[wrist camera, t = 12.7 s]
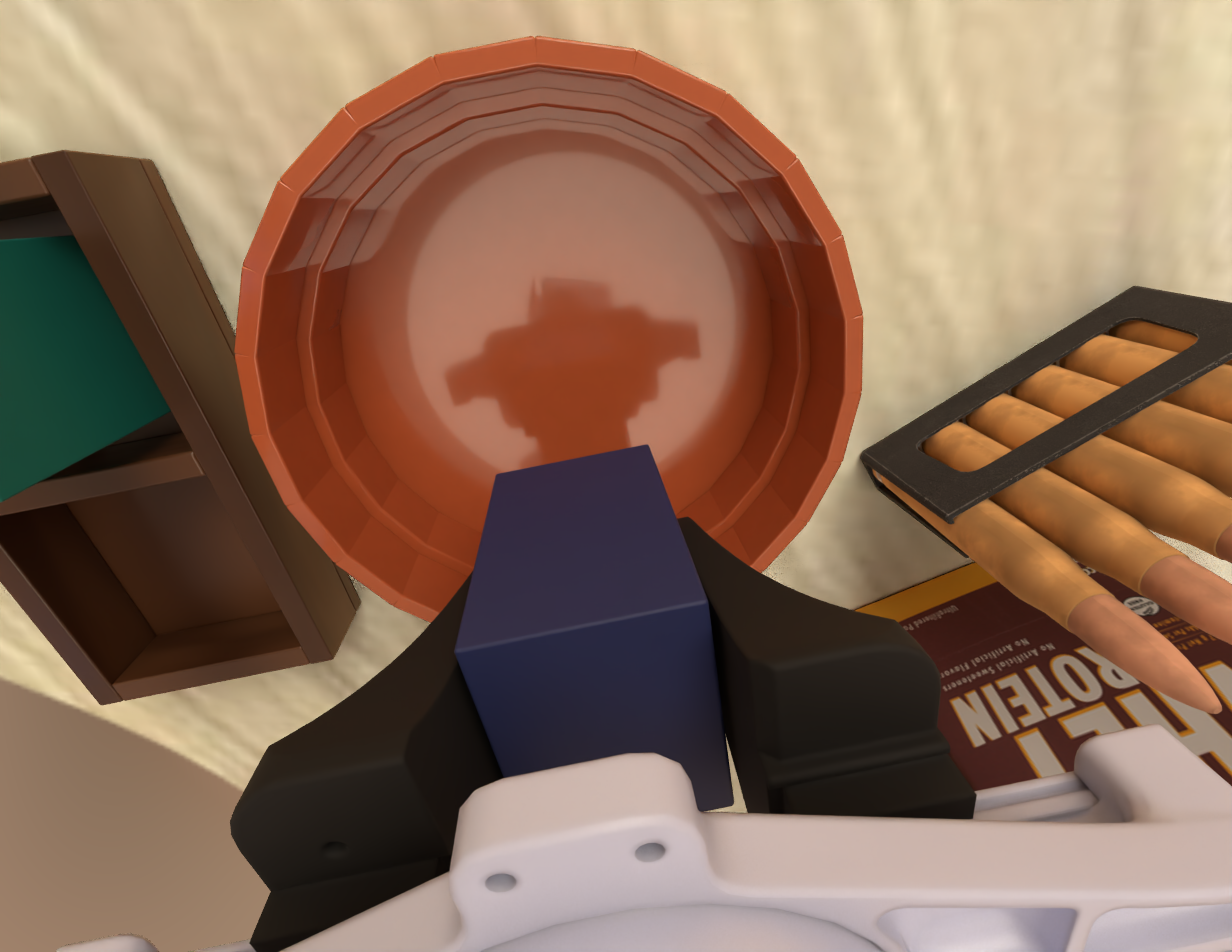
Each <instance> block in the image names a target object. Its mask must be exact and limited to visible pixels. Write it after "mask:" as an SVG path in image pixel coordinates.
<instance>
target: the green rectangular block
mask: <svg viewBox="0 0 1232 952" xmlns="http://www.w3.org/2000/svg"><path fill="white" fill-rule="evenodd" d="M169 412H171V410H170V408H169V406H168V405H167V403H166V401H165V399H164V397H163V396H162V394H161V392H160V390H159V388H158V386H157V385H156V383H155V381H154V379H153V377H152V376H151V374H150V372H149V370H148V368H147V367H146V365H145V363H144V361H143V359H142V358H141V356H140V354H139V352H138V350H137V349H136V347H135V345H134V343H133V341H132V340H131V338H130V336H129V334H128V332H127V330H126V329H125V327H124V325H123V323H122V321H121V320H120V318H119V316H118V314H117V312H116V311H115V309H114V307H113V305H112V303H111V302H110V300H109V298H108V296H107V294H106V293H105V291H104V289H103V287H102V285H101V284H100V282H99V280H98V278H97V276H96V274H95V273H94V271H93V269H92V267H91V265H90V264H89V262H88V260H87V258H86V256H85V255H84V253H83V251H82V249H81V247H80V246H79V244H78V242H77V240H76V238H75V237H74V235H68V236H53V237H37V238H21V239H6V240H0V502H3V501H5V500H7V499H9V498H11V497H13V496H15V495H16V494H18V493H20V492H22V491H24V490H26V489H28V488H30V487H31V486H33V485H35V484H37V483H39V482H41V481H43V480H44V479H46V478H48V477H50V476H52V475H54V474H56V473H58V472H59V471H61V470H63V469H65V468H67V467H69V466H71V465H72V464H74V463H76V462H78V461H80V460H82V459H84V458H85V457H87V456H89V455H91V454H93V453H95V452H97V451H99V450H100V449H102V448H104V447H106V446H108V445H110V444H112V443H113V442H115V441H117V440H119V439H121V438H123V437H125V436H127V435H128V434H130V433H132V432H134V431H136V430H138V429H140V428H141V427H143V426H145V425H147V424H149V423H151V422H153V421H155V420H156V419H158V418H160V417H162V416H164V415H166V414H168V413H169Z"/></svg>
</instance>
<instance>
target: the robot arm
mask: <svg viewBox="0 0 1232 952" xmlns="http://www.w3.org/2000/svg"><path fill="white" fill-rule="evenodd" d="M677 521H678V523H679V526H680V528H681V531H682V534H683V536H684V539H685V542H686V544H687V547H688V549H689V552H690V555H691V557H692V560H693V563H694V565H695V568H696V571H697V573H698V576H699V578H700V581H701V584H702V586H703V589H704V592H705V594H706V597H707V600H708V604H709V612H710V619H711V627H712V635H713V643H714V650H715V658H716V666H717V674H718V681H719V689H720V697H721V704H722V712H723V720H724V728H725V734H726V737H727V741H728V744H729V748H730V751H731V755H732V758H733V762H734V765H735V769H736V772H737V776H738V779H739V783H740V787H741V790H742V794H743V798H744V801H745V805H746V809H747V812H748V813H728V812H700V811H699V810H698V809H697V805H696V800H695V796H694V792H693V787H692V783H691V780H690V778H689V777H688V775H687V774H686V772H685V770H684V769H683V767H682V766H681V764H680V763H678V762H675V761H673V760H670V759H668V758H666V757H663V756H661V755H659V754H656V753H625V754H620V755H615V756H610V757H606V758H601V759H596V760H591V761H586V762H581V763H576V764H571V765H566V766H561V767H556V768H551V769H546V770H541V771H536V772H531V773H527V774H522V775H517V776H512V777H507V778H504V777H503V775H502V772H501V770H500V767H499V765H498V762H497V759H496V757H495V754H494V752H493V749H492V747H491V744H490V742H489V739H488V737H487V734H486V732H485V729H484V726H483V724H482V721H481V719H480V716H479V714H478V711H477V709H476V706H475V704H474V701H473V699H472V696H471V693H470V691H469V688H468V686H467V683H466V681H465V678H464V676H463V673H462V671H461V668H460V666H459V663H458V661H457V658H456V655H455V653H454V650H455V645H456V641H457V637H458V633H459V629H460V624H461V620H462V616H463V612H464V607H465V603H466V599H467V595H468V590H469V586H470V582H471V578H472V574H473V571H472V572H471V574H470V575H469V576H468V578H467V579H466V580H465V582H464V583H463V585H462V586H461V587H460V588H459V590H458V591H457V592H456V594H455V595H454V596H453V597H452V599H451V600H450V601H449V603H448V604H447V605H446V606H445V607H444V609H443V610H442V611H441V612H440V613H439V614H438V616H437V617H436V618H435V619H434V620H433V621H432V622H431V624H430V625H429V626H428V627H427V628H426V629H425V630H424V632H423V633H422V634H421V635H420V636H419V637H418V638H417V639H416V640H415V641H414V642H413V643H412V644H411V645H410V646H409V647H408V648H407V649H406V650H405V651H404V652H403V653H401V654H400V655H399V656H398V657H397V658H396V659H395V660H394V661H393V662H392V663H391V664H389V665H388V666H387V667H386V668H384V669H383V670H382V671H381V672H380V673H378V674H377V675H376V676H375V677H373V678H372V679H371V680H370V681H369V682H367V683H366V684H365V685H364V686H362V687H361V688H360V689H359V690H357V691H356V692H354V693H353V694H352V695H350V696H349V697H348V698H346V699H345V700H343V701H342V702H340V703H339V704H338V705H336V706H335V707H333V708H332V709H330V710H329V711H327V712H326V713H324V714H323V715H321V716H319V717H318V718H316V719H315V720H313V721H312V722H310V723H308V724H306V725H305V726H303V727H301V728H300V729H298V730H296V731H295V732H293V733H291V734H289V735H288V736H286V737H284V738H283V739H281V740H279V741H277V742H276V743H274V744H272V745H270V746H269V747H268V748H267V750H266V752H265V753H264V755H263V757H262V759H261V761H260V763H259V765H258V766H257V768H256V770H255V772H254V774H253V776H252V777H251V779H250V781H249V783H248V785H247V787H246V789H245V790H244V792H243V794H242V796H241V798H240V800H239V802H238V803H237V806H236V807H235V810H234V812H233V815H232V818H231V820H230V826H231V835H232V837H233V839H234V841H235V843H236V845H237V847H238V848H239V850H240V852H241V853H242V854H243V856H244V857H245V858H246V859H247V861H248V862H249V863H250V865H251V866H252V867H253V869H254V870H255V871H256V872H257V874H258V875H259V876H260V878H261V879H262V880H263V882H264V883H265V884H266V885H267V887H268V888H269V889H270V891H271V893H270V895H269V897H268V900H267V902H266V904H265V907H264V909H263V912H262V914H261V916H260V918H259V921H258V923H257V926H256V928H255V930H254V933H253V935H252V938H251V939H249V940H244V941H239V942H234V943H229V944H224V945H219V946H214V947H209V948H205V949H200V950H195V951H190V952H1232V786H1231V785H1230V784H1229V783H1227V782H1226V781H1225V780H1224V779H1223V778H1222V777H1220V776H1219V775H1218V774H1217V773H1216V772H1215V771H1213V770H1212V769H1211V768H1210V767H1209V766H1208V765H1206V764H1205V763H1204V762H1203V761H1202V760H1201V759H1199V758H1198V757H1197V756H1196V755H1195V754H1194V753H1192V752H1191V751H1190V750H1189V749H1188V748H1187V747H1185V746H1184V745H1183V744H1182V743H1181V742H1180V741H1178V740H1177V739H1176V738H1175V737H1174V736H1173V735H1172V734H1170V733H1169V732H1168V731H1167V730H1166V729H1165V728H1163V727H1162V726H1161V725H1159V724H1149V725H1144V726H1140V727H1135V728H1130V729H1125V730H1120V731H1115V732H1110V733H1105V734H1100V735H1097V736H1094V737H1092V738H1089V739H1088V740H1086V741H1085V742H1084V743H1082V744H1081V745H1080V747H1079V749H1078V750H1077V753H1076V756H1075V762H1074V771H1072V772H1067V773H1062V774H1057V775H1052V776H1047V777H1042V778H1038V779H1033V780H1028V781H1023V782H1018V783H1013V784H1008V785H1003V786H998V787H993V788H989V789H984V790H979V791H974V790H973V789H972V787H971V786H970V784H969V783H968V782H967V780H966V779H965V777H964V776H963V775H962V773H961V772H960V770H959V769H958V768H957V766H956V765H955V763H954V762H953V761H952V759H951V758H950V756H949V755H948V753H950V749H951V748H950V745H949V742H948V741H947V740H946V738H945V737H944V735H943V734H942V733H941V731H940V730H939V729H938V727H937V724H938V715H939V706H940V696H941V676H940V672H939V670H938V668H937V666H936V664H935V662H934V661H933V660H932V659H931V657H930V656H929V655H928V654H927V652H926V651H925V650H924V649H923V648H922V646H921V645H920V644H919V643H918V642H917V641H916V640H915V639H914V638H913V637H912V636H911V635H910V634H909V633H908V632H907V631H906V630H905V629H904V628H903V627H902V626H901V625H900V624H899V623H898V622H897V621H896V620H894V619H889V618H884V617H880V616H875V615H871V614H866V613H861V612H857V611H853V610H849V609H846V608H843V607H839V606H836V605H833V604H829V603H827V602H824V601H821V600H818V599H815V598H812V597H810V596H808V595H805V594H803V593H800V592H798V591H795V590H793V589H791V588H789V587H786V586H784V585H782V584H780V583H778V582H776V581H774V580H773V579H771V578H769V577H767V576H765V575H763V574H761V573H760V572H758V571H756V570H755V569H753V568H752V567H750V566H749V565H747V564H746V563H744V562H743V561H741V560H740V559H739V558H737V557H736V556H734V555H733V554H732V553H730V552H729V551H728V550H727V549H725V548H724V547H723V546H721V545H720V544H719V543H718V542H717V541H715V540H714V539H713V538H712V537H711V536H710V535H708V534H707V533H706V532H705V531H704V530H703V529H702V528H701V527H700V526H699V525H698V524H697V523H696V522H695V521H694V520H692V519H691V518H689V517H683V518H678V519H677ZM56 952H159V951H158V950H157V948H156V947H155V945H154V944H153V943H152V942H151V941H150V940H148V939H146V938H145V937H143V936H140V935H136V934H118V935H113V936H108V937H103V938H99V939H94V940H89V941H84V942H79V943H74V944H69V945H65V946H63V947H61V948H59V949H57V951H56Z"/></svg>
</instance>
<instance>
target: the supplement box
mask: <svg viewBox="0 0 1232 952" xmlns="http://www.w3.org/2000/svg"><path fill="white" fill-rule="evenodd" d="M1071 558H1072V557H1071ZM1072 559H1073V558H1072ZM1073 560H1074V561H1075V562H1076V563H1077V564H1078V565H1079V566H1080V567H1081V568H1082V569H1083V570H1084V572H1085V573H1086V574H1087V575H1088V576H1089V577H1091V578H1092V579H1093V580H1095V581H1096V582H1097V583H1098V584H1100V585H1101V586H1102V587H1104V588H1105V589H1106V590H1108V591H1109V592H1110V593H1111V594H1113V595H1114V596H1115V598H1116V599H1117V600H1118V601H1120V602H1121V603H1123V604H1124V605H1125V606H1127V607H1128V608H1129V609H1131V610H1132V611H1134V612H1135V613H1136V614H1138V615H1139V616H1140V617H1142V618H1143V619H1144V620H1145V621H1147V622H1148V623H1149V624H1150V625H1151V626H1153V627H1154V628H1155V629H1156V630H1157V631H1158V632H1159V633H1161V634H1162V635H1163V636H1164V637H1165V638H1166V639H1167V640H1169V641H1170V642H1171V643H1172V644H1173V645H1174V646H1175V647H1176V648H1177V649H1178V650H1179V651H1180V652H1181V653H1182V654H1183V655H1184V656H1185V657H1186V658H1187V659H1188V660H1189V662H1190V663H1191V664H1192V665H1193V666H1194V667H1195V668H1196V670H1197V671H1198V672H1199V673H1200V674H1201V675H1202V676H1203V678H1204V679H1205V680H1206V682H1207V683H1208V684H1209V686H1210V687H1211V688H1212V690H1213V691H1214V693H1215V695H1216V696H1217V698H1218V700H1219V702H1220V704H1221V706H1222V711H1221V712H1220V713H1218V714H1211V713H1208V712H1204V711H1202V710H1199V709H1196V708H1193V707H1191V706H1188V705H1186V704H1184V703H1181V702H1179V701H1177V700H1174V699H1172V698H1171V697H1169V696H1167V695H1165V694H1163V693H1161V692H1159V691H1157V690H1155V689H1153V688H1151V687H1150V686H1148V685H1146V684H1145V683H1143V682H1141V681H1139V680H1138V679H1136V678H1134V677H1133V676H1131V675H1129V674H1128V673H1126V672H1125V671H1123V670H1122V669H1120V668H1119V667H1118V666H1116V665H1115V664H1113V663H1112V662H1110V661H1109V660H1107V659H1106V658H1104V657H1103V656H1102V655H1100V654H1099V653H1098V652H1096V651H1095V650H1094V649H1092V648H1091V647H1090V646H1089V645H1087V644H1086V643H1085V642H1084V641H1083V640H1081V639H1080V638H1079V637H1078V636H1076V635H1075V634H1074V633H1071V632H1069V631H1068V630H1067V629H1065V628H1064V627H1063V626H1061V625H1060V624H1059V623H1057V622H1056V621H1055V620H1054V619H1052V618H1051V617H1050V616H1048V615H1047V614H1046V613H1044V612H1042V611H1041V610H1039V609H1037V608H1035V607H1033V606H1032V605H1030V604H1028V603H1026V602H1024V601H1023V600H1021V599H1019V598H1018V597H1017V596H1015V595H1014V594H1013V593H1011V592H1010V591H1009V590H1008V589H1007V588H1006V587H1004V586H1003V585H1002V584H1001V583H1000V582H998V581H997V580H996V579H995V578H994V577H993V576H991V575H990V574H989V573H988V572H987V571H985V570H984V569H983V568H982V567H981V566H980V565H978V564H977V563H976V562H975V563H972V564H970V565H967V566H965V567H962V568H960V569H957V570H955V571H952V572H950V573H947V574H945V575H942V576H940V577H937V578H935V579H932V580H930V581H927V582H925V583H922V584H920V585H917V586H915V587H912V588H910V589H907V590H905V591H902V592H900V593H897V594H895V595H892V596H890V597H888V598H885V599H883V600H880V601H877V602H875V603H872V604H870V605H867V606H865V607H862V608H860V609H857V610H855V611H857V612H861V613H866V614H871V615H875V616H880V617H884V618H889V619H894V620H896V621H897V622H898V623H899V624H900V625H901V626H902V627H903V628H904V629H905V630H906V631H907V632H908V633H909V634H910V635H911V636H912V637H913V638H914V639H915V640H916V641H917V642H918V643H919V644H920V645H921V646H922V648H923V649H924V650H925V651H926V652H927V654H928V655H929V656H930V657H931V659H932V660H933V661H934V662H935V664H936V666H937V668H938V670H939V672H940V676H941V696H940V706H939V715H938V724H937V727H938V729H939V730H940V731H941V733H942V734H943V735H944V737H945V738H946V740H947V741H948V742H949V745H950V748H951V749H950V753H948V755H949V756H950V758H951V759H952V761H953V762H954V763H955V765H956V766H957V768H958V769H959V770H960V772H961V773H962V775H963V776H964V777H965V779H966V780H967V782H968V783H969V784H970V786H971V787H972V789H973V790H974V791H979V790H984V789H989V788H993V787H998V786H1003V785H1008V784H1013V783H1018V782H1023V781H1028V780H1033V779H1038V778H1042V777H1047V776H1052V775H1057V774H1062V773H1067V772H1072V771H1074V762H1075V756H1076V753H1077V750H1078V749H1079V747H1080V745H1081V744H1082V743H1084V742H1085V741H1086V740H1088V739H1089V738H1092V737H1094V736H1097V735H1100V734H1105V733H1110V732H1115V731H1120V730H1125V729H1130V728H1135V727H1140V726H1144V725H1149V724H1159V725H1161V726H1162V727H1163V728H1165V729H1166V730H1167V731H1168V732H1169V733H1170V734H1172V735H1173V736H1174V737H1175V738H1176V739H1177V740H1178V741H1180V742H1181V743H1182V744H1183V745H1184V746H1185V747H1187V748H1188V749H1189V750H1190V751H1191V752H1192V753H1194V754H1195V755H1196V756H1197V757H1198V758H1199V759H1201V760H1202V761H1203V762H1204V763H1205V764H1206V765H1208V766H1209V767H1210V768H1211V769H1212V770H1213V771H1215V772H1216V773H1217V774H1218V775H1219V776H1220V777H1222V778H1223V779H1224V780H1225V781H1226V782H1227V783H1229V784H1230V785H1231V786H1232V645H1231V644H1229V643H1227V642H1225V641H1223V640H1221V639H1218V638H1216V637H1214V636H1212V635H1210V634H1208V633H1206V632H1205V631H1203V630H1201V629H1199V628H1197V627H1195V626H1193V625H1192V624H1190V623H1188V622H1186V621H1184V620H1182V619H1181V618H1179V617H1177V616H1175V615H1174V614H1172V613H1171V612H1169V611H1167V610H1166V609H1164V608H1163V607H1161V606H1160V605H1158V604H1157V603H1155V602H1154V601H1152V600H1150V599H1149V598H1146V597H1144V596H1142V595H1140V594H1138V593H1137V592H1135V591H1134V590H1132V589H1130V588H1129V587H1127V586H1125V585H1124V584H1122V583H1121V582H1119V581H1117V580H1116V579H1114V578H1112V577H1110V576H1107V575H1105V574H1103V573H1100V572H1098V571H1096V570H1094V569H1091V568H1089V567H1087V566H1085V565H1083V564H1081V563H1080V562H1078V561H1076V560H1075V559H1073Z"/></svg>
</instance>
